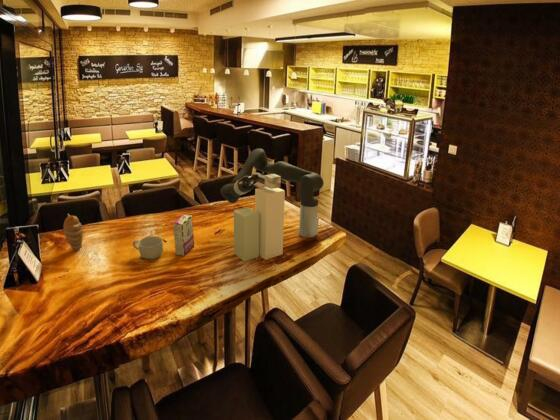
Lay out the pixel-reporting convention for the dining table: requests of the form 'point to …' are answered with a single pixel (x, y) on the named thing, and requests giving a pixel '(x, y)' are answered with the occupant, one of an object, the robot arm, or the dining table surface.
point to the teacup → (149, 247)
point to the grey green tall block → (246, 233)
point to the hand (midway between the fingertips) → (260, 175)
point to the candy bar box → (183, 235)
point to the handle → (269, 180)
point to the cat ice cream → (73, 232)
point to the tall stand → (270, 220)
